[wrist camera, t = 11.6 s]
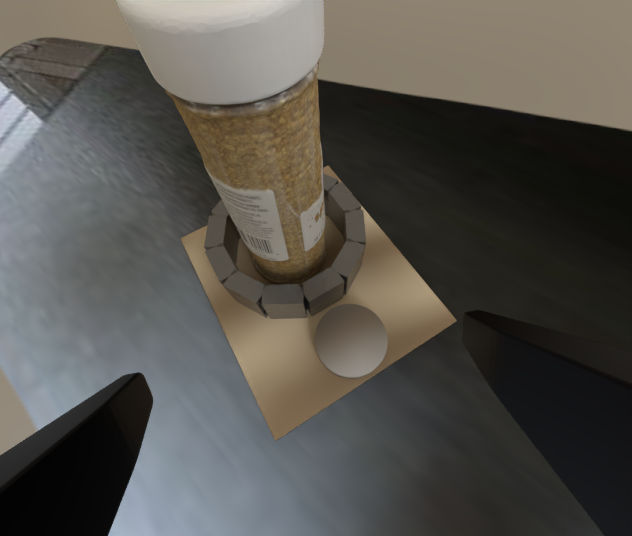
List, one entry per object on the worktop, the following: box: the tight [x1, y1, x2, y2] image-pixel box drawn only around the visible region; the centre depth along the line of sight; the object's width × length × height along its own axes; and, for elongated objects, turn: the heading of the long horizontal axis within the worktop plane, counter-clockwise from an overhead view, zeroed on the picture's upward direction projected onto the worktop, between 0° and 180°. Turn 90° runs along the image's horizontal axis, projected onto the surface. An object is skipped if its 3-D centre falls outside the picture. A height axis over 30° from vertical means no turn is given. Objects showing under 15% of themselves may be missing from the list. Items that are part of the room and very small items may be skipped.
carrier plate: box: [180, 166, 457, 441], centre depth 18 cm, size 13×11×2 cm
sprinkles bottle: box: [116, 0, 327, 285], centre depth 12 cm, size 5×5×13 cm
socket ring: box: [204, 174, 366, 319], centre depth 18 cm, size 8×8×2 cm
